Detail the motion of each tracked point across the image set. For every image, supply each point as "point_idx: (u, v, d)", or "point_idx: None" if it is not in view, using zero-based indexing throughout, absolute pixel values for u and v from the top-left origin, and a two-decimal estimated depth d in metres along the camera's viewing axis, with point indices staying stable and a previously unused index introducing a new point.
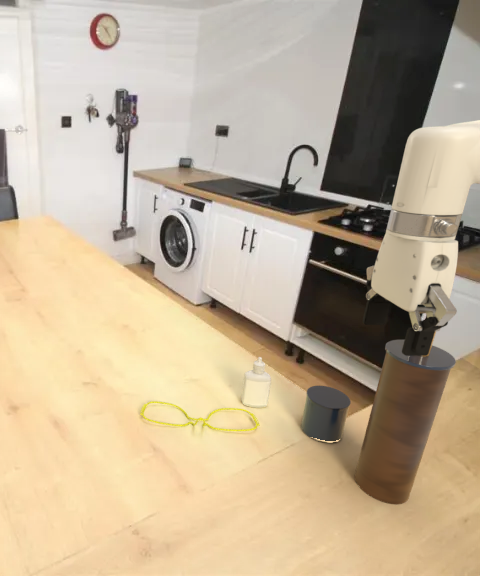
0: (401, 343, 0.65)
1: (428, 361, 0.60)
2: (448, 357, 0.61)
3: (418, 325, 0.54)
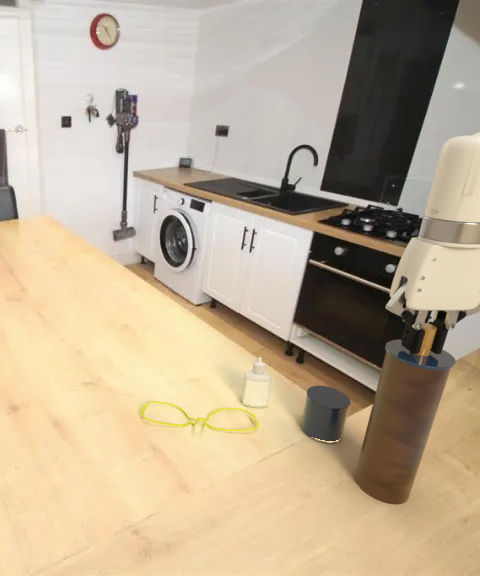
0: None
1: (428, 361, 0.60)
2: (448, 357, 0.61)
3: (453, 325, 0.59)
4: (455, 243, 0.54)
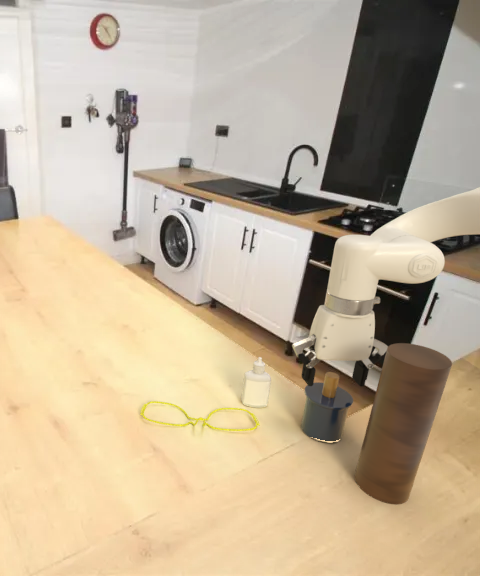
0: (317, 386, 0.85)
1: (332, 402, 0.80)
2: (349, 399, 0.80)
3: (372, 364, 0.78)
4: (345, 314, 0.73)
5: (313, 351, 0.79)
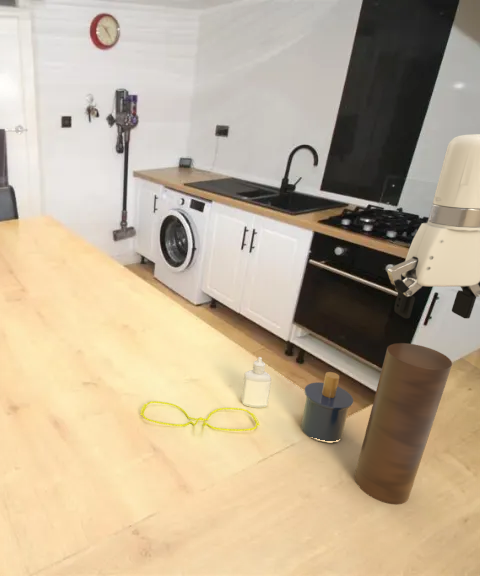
0: (317, 386, 0.85)
1: (332, 402, 0.80)
2: (349, 399, 0.80)
3: None
4: (460, 226, 0.62)
5: (411, 277, 0.69)
